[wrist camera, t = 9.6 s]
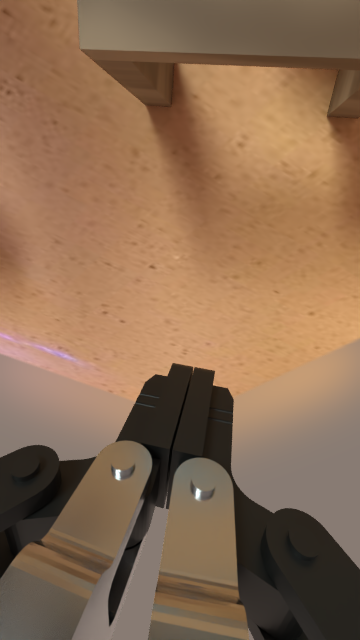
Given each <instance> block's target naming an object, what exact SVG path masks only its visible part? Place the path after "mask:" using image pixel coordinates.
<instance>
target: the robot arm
mask: <svg viewBox="0 0 360 640" xmlns="http://www.w3.org/2000/svg"><path fill="white" fill-rule="evenodd" d="M192 374H193V375H192ZM214 374H215V371H212V370H207V369H202V368H197V367H195V368H194V371H193V367H191V366H186V365H180V364H175V363H173V364H172V366H171V369H170V371H169V374H168V376H162V375H157V374H155V375H154V376H153V377H152V378H150V379H149V380H148V381H146V382H145V384H144V386H143V388H142V390H141V392H140V395H139V396H138V398H137V400H136V403H135V404H134V406H133V408H132V410H131V412H130V414H129V416H128V418H127V420H126V422H125V424H124V426H123V428H122V430H121V432H120V434H119V436H118V438H117V440H116V442H115V443H112V444H110V445H108V446H107V447H105V448H104V449H103V450H102V451H101V452H100V453H99V454H98V456H96V457H93V458H89V459H84V460H68V461H59V458H58V456H57V454H56V452H55V451H54V450H53V449H51V448H49V447H47V446H42V445H33V446H27V447H24V448H21V449H19V450H16V451H14V452H12V453H10V454H7V455H5V456H3V457H1V458H0V640H112V637H113V634H114V630H115V627H116V624H117V621H118V618H119V615H120V612H121V610H122V607H123V603H124V601H125V598H126V595H127V592H128V589H129V586H130V583H131V581H132V578H133V575H134V572H135V569H136V566H137V563H138V560H139V558H140V555H141V552H142V549H143V546H144V543H145V540H146V537H147V532H148V529H149V527H150V523H151V520H152V516H153V512H154V508H155V506H157V507H161V508H164V504H165V500H166V496H167V504H166V509H169V512H168V519H167V525H166V531H165V538H164V544H163V551H162V558H161V564H160V570H159V576H158V582H157V587H156V592H155V598H154V604H153V610H152V617H151V623H150V629H149V637H148V640H249V636H248V628H249V630H250V632H251V634H252V636H253V638H254V640H360V569H359V568H358V567H357V566H356V564H355V563H354V562H353V561H352V560H351V559H350V557H349V556H348V555H347V554H346V553H345V552H344V551H343V549H342V548H341V547H340V546H339V544H338V543H337V542H336V541H335V540H334V539H333V537H332V536H331V535H330V534H329V533H328V531H327V530H326V529H325V528H324V527H323V526H322V525H321V524H320V523H319V522H318V521H317V520H316V519H314V518H313V517H311V516H310V515H308V514H306V513H305V512H302V511H300V510H297V509H291V508H290V509H289V508H285V509H281V510H278V511H276V512H275V513H272V512H270V511H269V510H267V509H265V508H264V507H262V506H260V505H258V504H257V503H255V502H254V501H252V500H251V499H249V498H248V497H247V496H246V495H244V493H243V492H242V491H241V490H240V489H239V487H238V486H237V485H236V483H235V481H234V479H233V476H232V473H231V449H232V423H233V402H234V401H233V398H232V396H231V394H230V392H229V390H228V388H223V387H218V386H213V381H214ZM167 492H168V495H167Z"/></svg>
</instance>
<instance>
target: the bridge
mask: <svg viewBox="0 0 360 640" xmlns="http://www.w3.org/2000/svg"><path fill="white" fill-rule="evenodd" d="M77 4H78V24H79V44H80V50H81V51H83V52H84V53H85V54H86V55H87V56H88V57H90V58H91V59H92V60H93V61H94V62H95V63H97V64H98V65H99V66H100V67H101V68H103V69H104V70H105V71H106V72H107V73H108V74H110V75H111V76H112V77H113V78H114V79H115V80H117V81H118V82H119V83H120V84H121V85H122V86H124V87H125V88H126V89H127V90H128V91H129V92H131V93H132V94H133V95H134V96H135V97H136V98H138V99H139V100H140V101H141V102H142V103H144V104H145V105H151V106H167V107H171V104H172V88H173V72H174V63H186V64H211V65H236V66H261V67H286V68H311V69H336V70H339V71H338V75H337V79H336V83H335V87H334V91H333V94H332V98H331V102H330V106H329V110H328V114H327V116H329V117H345V118H359V117H360V0H77Z"/></svg>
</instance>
